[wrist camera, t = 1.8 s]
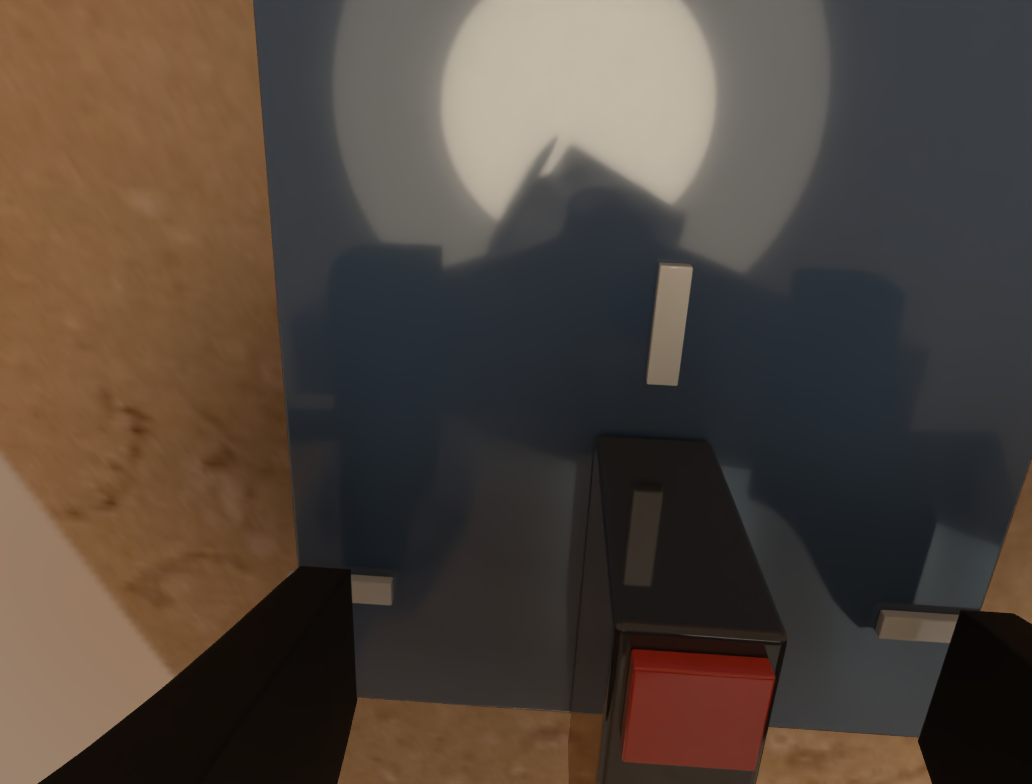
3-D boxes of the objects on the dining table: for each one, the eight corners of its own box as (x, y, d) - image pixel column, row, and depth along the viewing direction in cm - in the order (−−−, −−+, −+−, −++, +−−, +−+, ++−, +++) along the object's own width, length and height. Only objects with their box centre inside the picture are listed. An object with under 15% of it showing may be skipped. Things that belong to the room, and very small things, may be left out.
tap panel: (839, 716, 15) (906, 876, 12) (355, 683, 15) (308, 831, 12) (1154, -465, 8) (1470, -742, 5) (300, -485, 9) (168, -764, 6)
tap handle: (665, 750, 11) (711, 1050, 8) (567, 743, 11) (571, 1038, 8) (713, 439, 9) (802, 660, 6) (595, 432, 9) (617, 646, 6)
